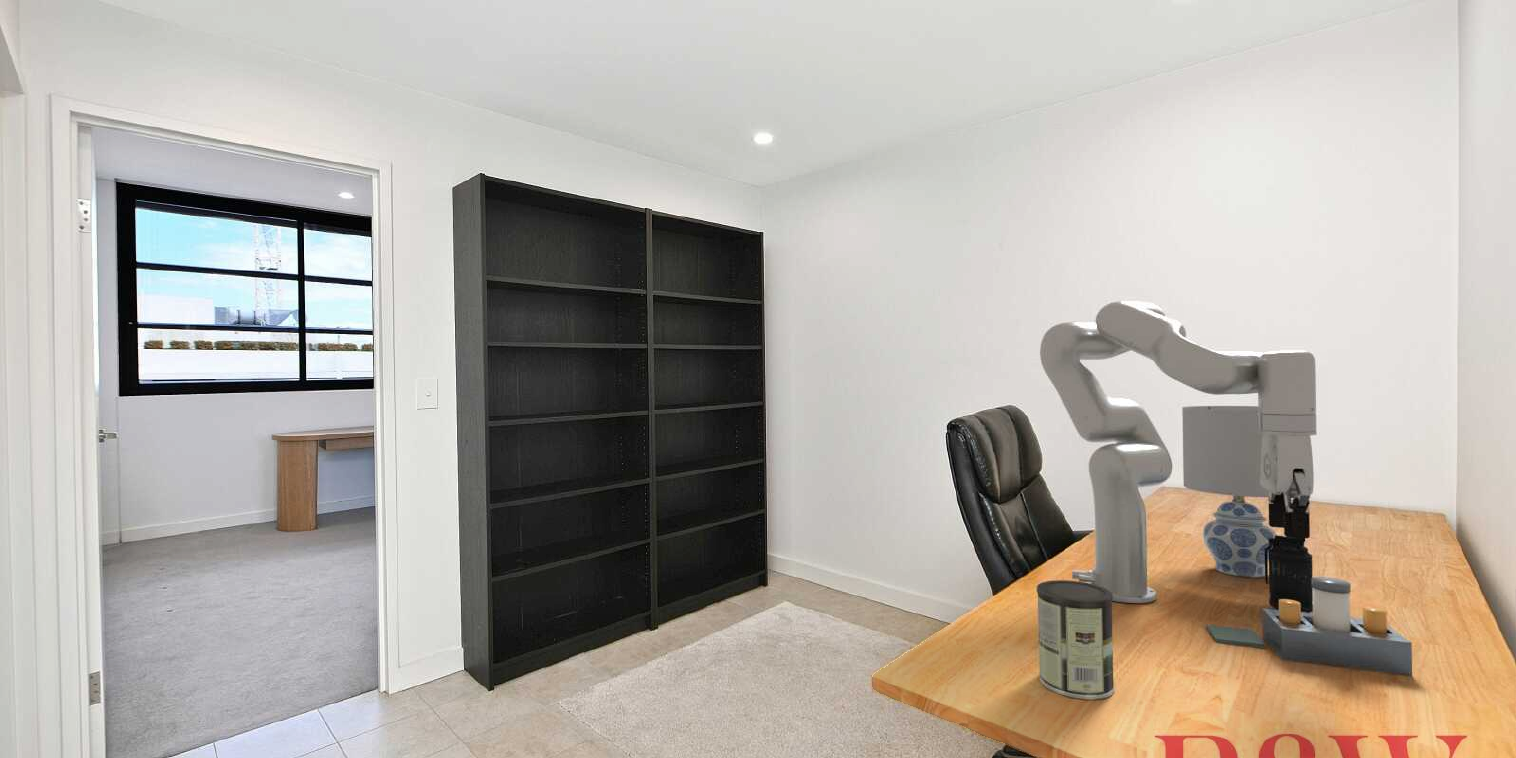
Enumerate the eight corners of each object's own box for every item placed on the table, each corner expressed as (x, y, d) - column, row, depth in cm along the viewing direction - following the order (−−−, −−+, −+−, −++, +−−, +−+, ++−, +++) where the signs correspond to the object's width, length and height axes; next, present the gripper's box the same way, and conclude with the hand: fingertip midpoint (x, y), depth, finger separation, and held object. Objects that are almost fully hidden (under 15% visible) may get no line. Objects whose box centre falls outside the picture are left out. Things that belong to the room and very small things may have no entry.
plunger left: (1282, 633, 109) (1282, 603, 109) (1276, 627, 112) (1276, 598, 112) (1303, 636, 108) (1303, 605, 108) (1297, 630, 110) (1296, 600, 110)
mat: (1215, 642, 113) (1215, 638, 113) (1206, 627, 120) (1206, 624, 120) (1265, 648, 111) (1265, 644, 111) (1253, 632, 117) (1252, 629, 117)
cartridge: (1319, 658, 106) (1318, 584, 106) (1308, 647, 111) (1306, 575, 111) (1357, 663, 104) (1356, 587, 104) (1344, 651, 109) (1343, 578, 109)
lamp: (1187, 554, 168) (1185, 405, 168) (1296, 567, 155) (1293, 406, 155) (1182, 575, 151) (1179, 409, 151) (1303, 592, 138) (1300, 410, 138)
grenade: (1306, 611, 127) (1305, 533, 127) (1318, 622, 121) (1317, 541, 121) (1261, 606, 130) (1260, 530, 130) (1270, 617, 124) (1269, 537, 124)
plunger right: (1367, 643, 105) (1367, 611, 105) (1359, 636, 107) (1359, 606, 107) (1390, 645, 104) (1390, 613, 104) (1382, 639, 106) (1381, 608, 106)
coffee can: (1077, 665, 105) (1076, 576, 105) (1131, 694, 95) (1129, 596, 95) (1023, 674, 102) (1021, 583, 102) (1072, 705, 92) (1070, 604, 92)
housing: (1282, 659, 106) (1281, 628, 106) (1262, 636, 115) (1262, 608, 115) (1412, 675, 100) (1411, 642, 100) (1380, 650, 109) (1380, 620, 109)
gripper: (1244, 421, 119) (1246, 520, 119) (1276, 428, 103) (1278, 542, 103) (1295, 422, 116) (1297, 523, 116) (1337, 429, 100) (1339, 546, 100)
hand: (1288, 531), depth 110 cm, fingers open, 6 cm apart
